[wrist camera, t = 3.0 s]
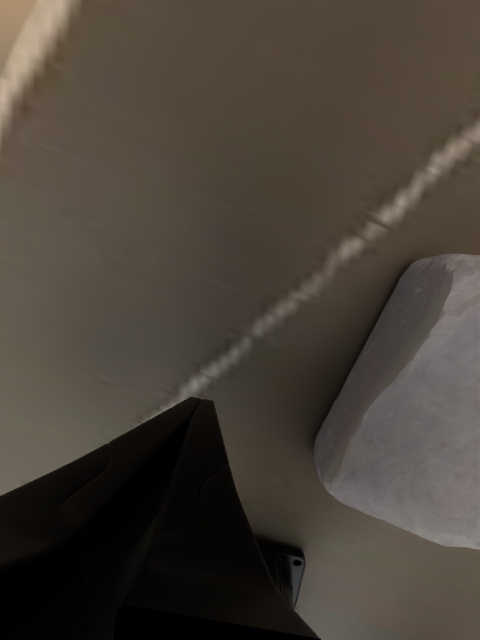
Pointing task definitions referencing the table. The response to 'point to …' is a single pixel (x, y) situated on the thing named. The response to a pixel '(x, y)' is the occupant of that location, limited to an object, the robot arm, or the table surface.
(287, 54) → the table surface
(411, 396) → the stone block
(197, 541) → the robot arm
